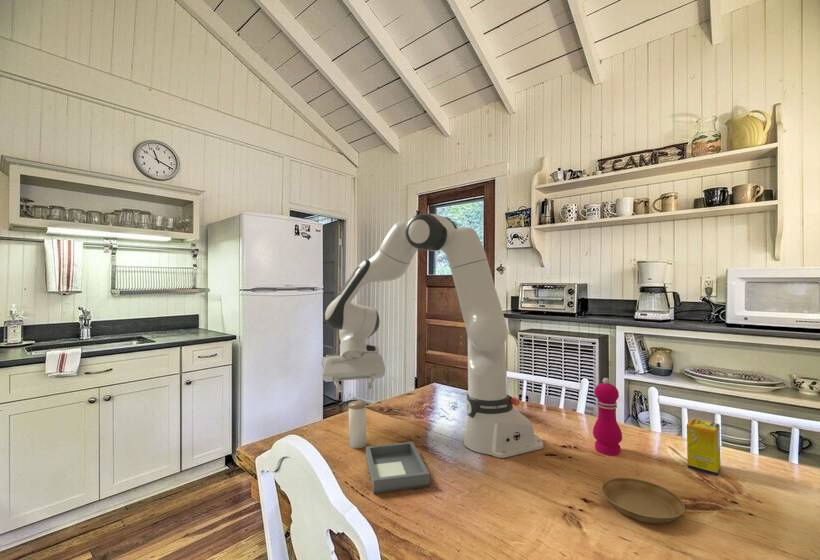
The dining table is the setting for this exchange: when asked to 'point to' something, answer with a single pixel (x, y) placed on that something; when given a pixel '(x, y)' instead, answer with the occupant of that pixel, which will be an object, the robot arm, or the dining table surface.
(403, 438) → the dining table surface
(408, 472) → the tray
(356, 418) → the tube
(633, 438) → the dining table surface
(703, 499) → the dining table surface
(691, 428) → the supplement box
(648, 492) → the plant saucer
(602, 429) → the pepper mill
